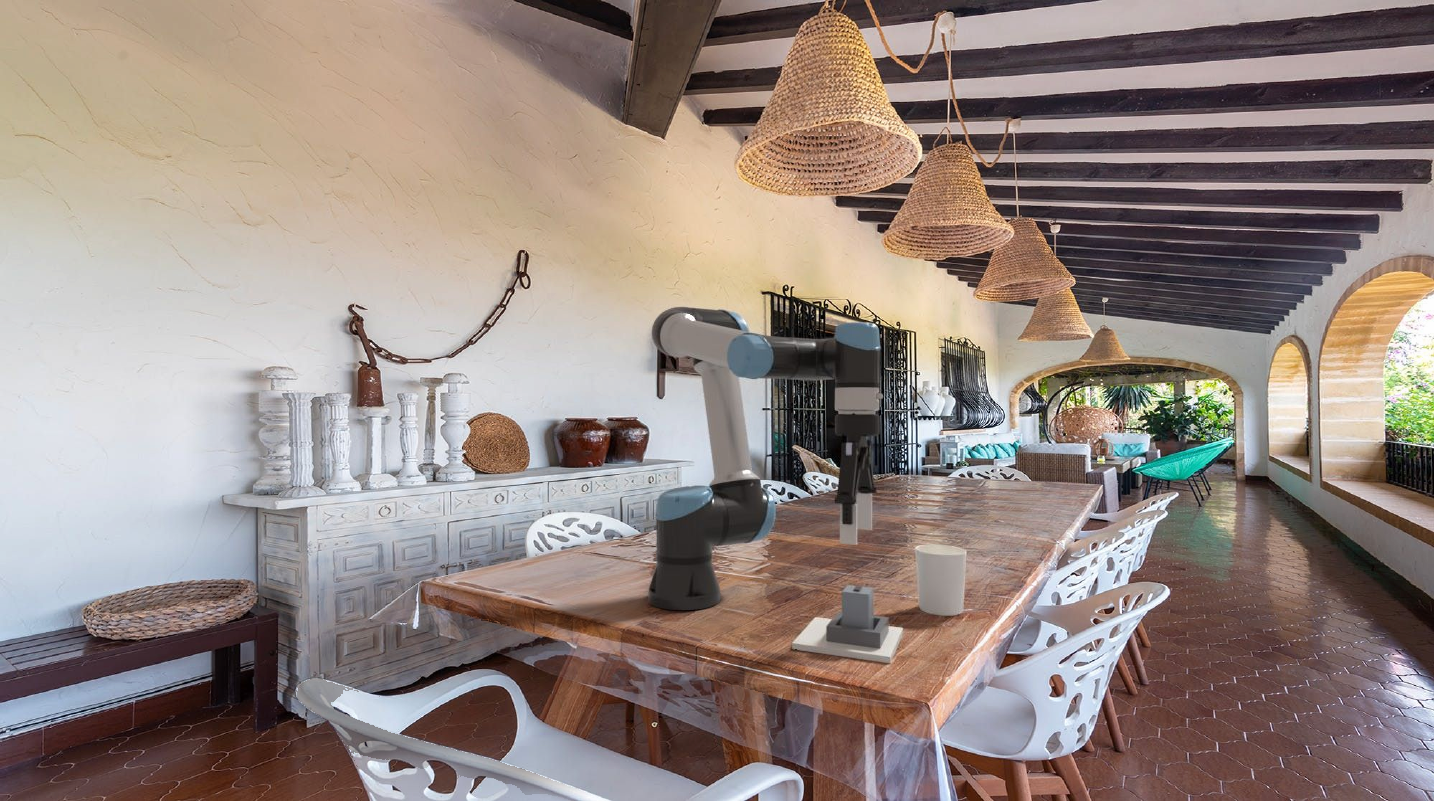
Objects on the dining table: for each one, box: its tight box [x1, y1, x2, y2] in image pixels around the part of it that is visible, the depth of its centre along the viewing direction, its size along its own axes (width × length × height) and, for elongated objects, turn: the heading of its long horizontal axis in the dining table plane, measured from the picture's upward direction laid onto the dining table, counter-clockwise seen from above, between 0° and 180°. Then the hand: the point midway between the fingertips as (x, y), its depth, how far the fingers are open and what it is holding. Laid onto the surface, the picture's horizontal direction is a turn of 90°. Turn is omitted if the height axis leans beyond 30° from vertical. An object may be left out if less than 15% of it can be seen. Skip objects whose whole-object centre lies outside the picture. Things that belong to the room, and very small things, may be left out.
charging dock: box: [791, 611, 904, 664], centre depth 114 cm, size 16×15×4 cm
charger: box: [841, 584, 874, 630], centre depth 113 cm, size 4×4×8 cm
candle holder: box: [914, 544, 968, 617], centre depth 132 cm, size 10×10×12 cm
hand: (856, 536), depth 114 cm, fingers open, 13 cm apart
